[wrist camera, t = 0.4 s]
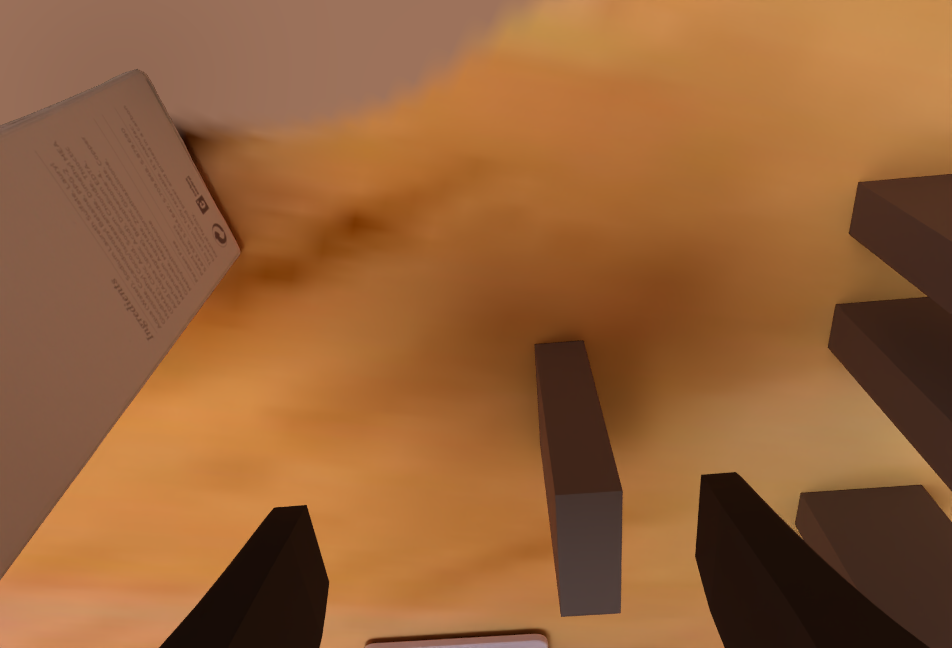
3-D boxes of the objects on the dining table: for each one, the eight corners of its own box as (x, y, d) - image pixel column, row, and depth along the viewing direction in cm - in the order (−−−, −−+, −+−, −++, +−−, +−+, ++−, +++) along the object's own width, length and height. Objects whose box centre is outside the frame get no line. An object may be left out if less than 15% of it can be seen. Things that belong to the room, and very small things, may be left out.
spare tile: (583, 340, 22) (622, 490, 16) (585, 445, 25) (620, 613, 18) (534, 344, 22) (555, 495, 16) (540, 448, 25) (561, 616, 19)
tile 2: (911, 516, 26) (1043, 691, 20) (795, 524, 26) (890, 699, 20) (921, 484, 25) (1061, 656, 19) (800, 493, 26) (902, 665, 20)
